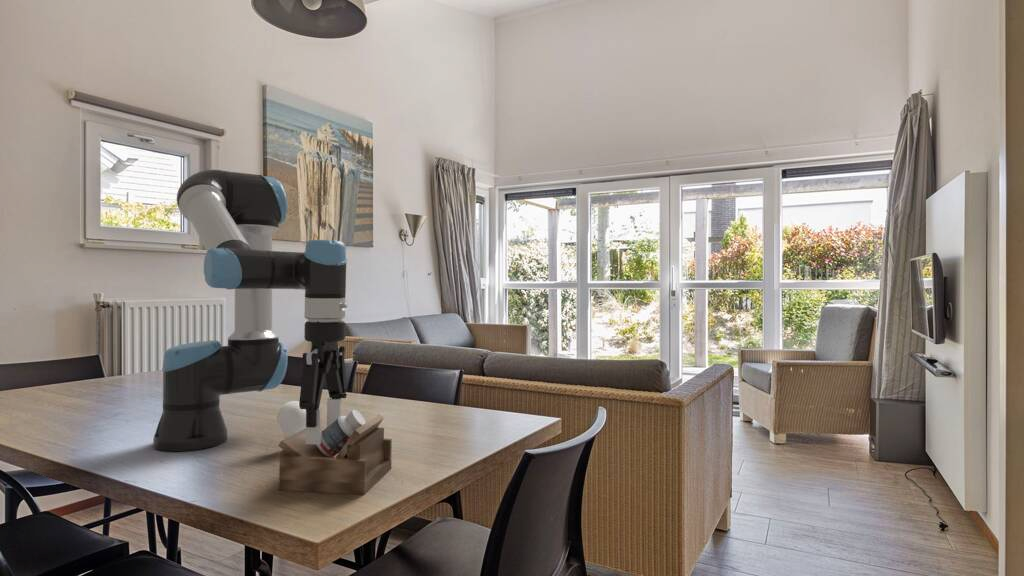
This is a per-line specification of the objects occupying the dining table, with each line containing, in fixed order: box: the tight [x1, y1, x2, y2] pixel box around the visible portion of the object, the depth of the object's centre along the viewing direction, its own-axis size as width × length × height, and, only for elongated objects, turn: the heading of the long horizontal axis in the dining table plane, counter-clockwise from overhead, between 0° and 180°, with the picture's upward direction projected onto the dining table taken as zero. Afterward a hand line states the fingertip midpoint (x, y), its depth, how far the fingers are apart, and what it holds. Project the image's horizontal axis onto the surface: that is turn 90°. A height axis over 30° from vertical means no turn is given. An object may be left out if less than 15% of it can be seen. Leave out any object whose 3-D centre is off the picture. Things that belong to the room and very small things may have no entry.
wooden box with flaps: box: [277, 413, 393, 496], centre depth 111 cm, size 17×15×11 cm
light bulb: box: [277, 400, 306, 439], centre depth 130 cm, size 7×7×11 cm
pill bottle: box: [317, 409, 367, 457], centre depth 111 cm, size 5×5×9 cm
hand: (324, 437), depth 111 cm, fingers open, 8 cm apart
